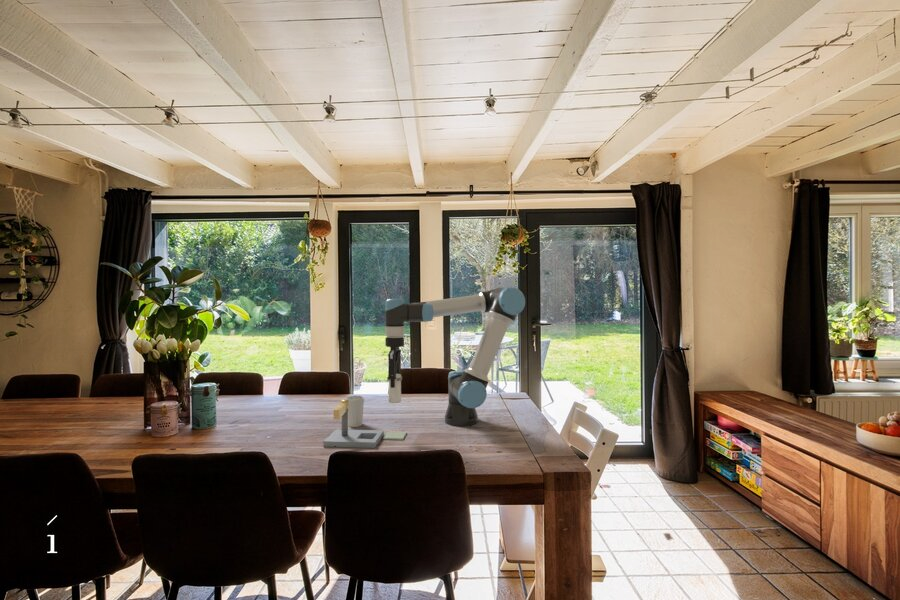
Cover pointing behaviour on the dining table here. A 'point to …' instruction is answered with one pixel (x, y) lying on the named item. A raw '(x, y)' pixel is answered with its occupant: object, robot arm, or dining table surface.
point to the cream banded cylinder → (398, 397)
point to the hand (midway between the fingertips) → (394, 393)
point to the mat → (394, 435)
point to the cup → (355, 410)
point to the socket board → (353, 436)
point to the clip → (341, 408)
